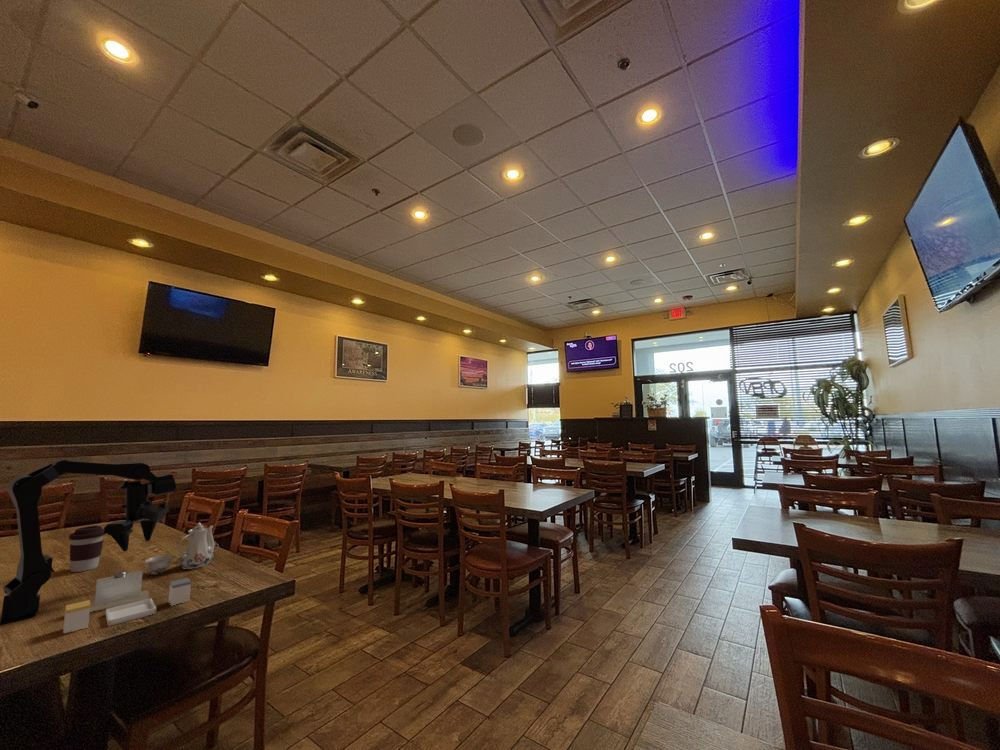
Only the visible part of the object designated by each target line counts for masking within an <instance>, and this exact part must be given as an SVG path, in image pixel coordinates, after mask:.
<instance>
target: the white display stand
mask: <svg viewBox="0 0 1000 750" xmlns="http://www.w3.org/2000/svg"><path fill="white" fill-rule="evenodd" d="M143 575H144V573H143V571H142V570H138V571H132V572H128V571H126V570H123V571H121V570H120V571H118V572H115V573H114V575H112V576H108V577H107V576H106V577H103V578H97V579H96V586H95V594H94V595H95V597H94V601H92V602H90V612H91V613H93V611H95V612H99V611H102V610H106V609H109V608H113V607H117V606H121V605H125V604H129V603H133V602H137V601H141V600H145V599H150V592H149V590H148V589H144V590H142V584H143ZM98 610H99V611H98Z"/></svg>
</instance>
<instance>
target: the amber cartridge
mask: <svg viewBox="0 0 1000 750" xmlns="http://www.w3.org/2000/svg"><path fill="white" fill-rule="evenodd" d="M90 603H91V600H90V599H87V600H82V601H80V602H75V603H71V604H66V605H65V612H64V619H63V626H62V627H63V630H62V634H63V633H67V632H70V631H75V630H79V629H84V628H88V629H89V619H90V614H91V613H90ZM84 630H85V629H84Z"/></svg>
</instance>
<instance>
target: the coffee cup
mask: <svg viewBox="0 0 1000 750" xmlns="http://www.w3.org/2000/svg"><path fill="white" fill-rule="evenodd" d="M105 536H106V534H104V528H102V526H101V525H88V526H83V527H79V528H77V529H75V531H74V532H73V533H70V534H69V535H68V540H70V545H69V561H70V565H69V566H70V572H71V573H82V571H83V572H87V570H88V571H91V570H94V569H96V568H98V566H99V561H100V557H101V555H102V552H103V551H102V550H103V546H104V545H103V544H104V537H105Z"/></svg>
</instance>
